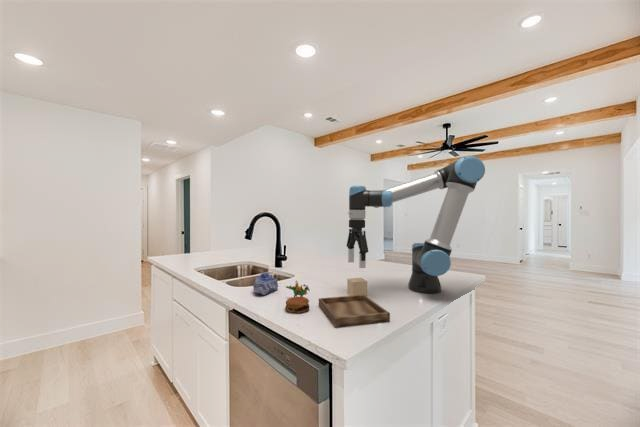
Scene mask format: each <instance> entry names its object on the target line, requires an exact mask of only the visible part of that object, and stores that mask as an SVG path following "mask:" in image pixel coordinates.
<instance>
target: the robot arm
mask: <svg viewBox="0 0 640 427" xmlns="http://www.w3.org/2000/svg"><path fill="white" fill-rule="evenodd" d="M485 173H486V166H485V164H484V163H483V161H482V160H481V159H480V158H478V157H476V156H474V155H467V156H462V157H460V158H459V159H458V160H455V161H453V162H451V163H450V164H448V165H445V166H444V167H443V168H440V169H437V170H434V172H433V173H432V174H428V175H425V176H422V177H419V178H417V179H414V180H410V181H407V182H404V183H401V184H397V185H395V186H392V187H389V188H386V189H382V190H381V189H379V190H369V189H368V190H367V187H366V186H365V185H352V186H350V187H349V192H348V194H349V195H348V197H349V198H348V203H349V204H348V212H347V213H348V218H349V220H348V227H349V229H348V237H347V242H346V247H347V249H348V250H347V252H348V254H347V255H348V256H347V260H348V261H347V262H348V263H349V264H350V263H354V262H355V244H356V242H357V245H358V249H359V252H358V255H359V256H358V264H359V265H358V268H359V269H366V263H367V262H366V261H367V260H366V255H367V253H369V247H368V241H367V236H366V230H363V229H365V227H366V220H365V219H366V207H367V208H368V207H373V208H377V209H378V208H383V207H384V208H386V207H387V208H390V207H391V206H392V205H393V203H396V202H399V201H403V200H407V199H408V198H411V197H415V196H419V195H422V194H425V193H428V192H430V191H435V190H436V189H437V190H438V189H439V190H444V189H447V190H446V193H445V196H444V199H443V202H442V204H441V207H440V210H439V212H438V215H437V218H436V221H435V223H434V226H433V228H432V231H431V234H430V237H429V238H428V239H426V240H424V242H414V243H413V244H412V245H411V246H412V247H411V253H412V254H411V262H412V264H411V276H410V278H409V282H408V289H409V290H410V291H413V292H416V293H421V294H438V293H441V291H442V285H441V282H440V279H439V277H441V276H444V275H445V274H446V273H447V272H449V270H450V268H451V266H452V264H451V263H452V262H451V258H450V257H451V254H452V251H453V249H452V247H451V243H452V241H453V237H454V234H455V232H456V230H457V227H458V224H459V220H460V218H461V215H462V214H463V213H462V212H463V210H464V207H465V206H466V202H467V199H468V196H469V195H470V194H471V193H473V192H474V191H475V190H476V186H477V183H478V182H479V181H481V179H483V178H484V176H485Z"/></svg>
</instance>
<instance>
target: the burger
mask: <svg viewBox="0 0 640 427" xmlns="http://www.w3.org/2000/svg"><path fill="white" fill-rule="evenodd" d="M309 302H310V300H309V298H307V297H304V296H303V297H302V296H301V297H300V296H297V297H296V296H295V297H294V296H293V297H290V298H289V297H288V299H286V300H285V311H286V312H288V313H293V314H294V313H295V314H299V313H300V314H302V313H305V312H308V310H310V303H309Z"/></svg>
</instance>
